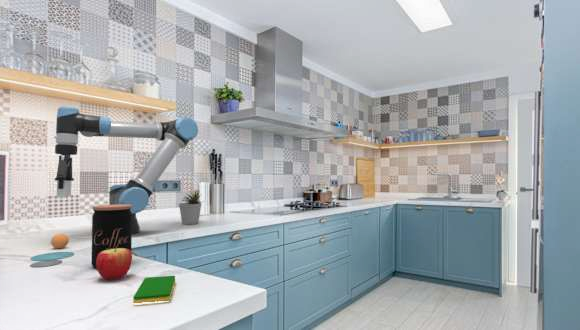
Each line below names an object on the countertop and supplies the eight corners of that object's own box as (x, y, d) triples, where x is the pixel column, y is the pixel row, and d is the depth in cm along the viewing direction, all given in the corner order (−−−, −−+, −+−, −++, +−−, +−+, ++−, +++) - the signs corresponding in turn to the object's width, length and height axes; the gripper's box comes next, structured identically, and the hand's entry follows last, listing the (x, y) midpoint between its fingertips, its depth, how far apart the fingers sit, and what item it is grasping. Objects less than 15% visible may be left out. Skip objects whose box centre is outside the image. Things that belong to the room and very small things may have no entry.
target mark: (78, 251, 119) (78, 250, 119) (68, 258, 108) (68, 258, 108) (38, 253, 115) (38, 253, 115) (24, 262, 104) (24, 261, 104)
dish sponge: (175, 284, 83) (175, 275, 83) (169, 305, 69) (169, 293, 69) (144, 287, 81) (144, 277, 81) (132, 308, 68) (132, 296, 68)
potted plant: (197, 225, 183) (197, 189, 183) (174, 225, 185) (174, 189, 185) (207, 222, 195) (207, 188, 196) (185, 222, 197) (185, 188, 198)
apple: (137, 277, 87) (138, 239, 87) (102, 285, 81) (103, 244, 81) (124, 271, 93) (125, 236, 93) (91, 279, 86) (91, 240, 87)
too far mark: (65, 259, 107) (65, 259, 107) (57, 265, 99) (57, 265, 99) (36, 261, 104) (36, 261, 104) (25, 268, 97) (25, 267, 97)
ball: (70, 246, 128) (70, 232, 128) (66, 249, 123) (66, 234, 123) (53, 247, 126) (54, 233, 126) (48, 250, 121) (48, 235, 121)
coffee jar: (86, 271, 93) (87, 207, 94) (97, 262, 103) (98, 204, 104) (127, 268, 96) (128, 206, 97) (134, 259, 106) (134, 203, 107)
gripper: (61, 147, 145) (58, 195, 143) (48, 140, 122) (45, 198, 121) (81, 148, 148) (79, 195, 147) (72, 142, 126) (69, 198, 124)
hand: (63, 196), depth 134 cm, fingers open, 13 cm apart
